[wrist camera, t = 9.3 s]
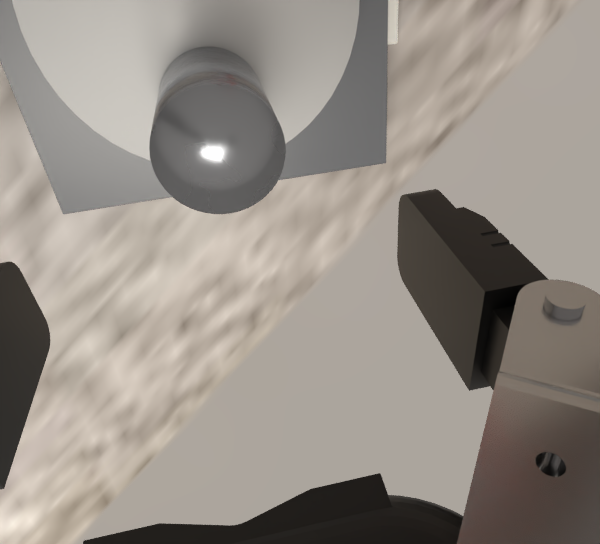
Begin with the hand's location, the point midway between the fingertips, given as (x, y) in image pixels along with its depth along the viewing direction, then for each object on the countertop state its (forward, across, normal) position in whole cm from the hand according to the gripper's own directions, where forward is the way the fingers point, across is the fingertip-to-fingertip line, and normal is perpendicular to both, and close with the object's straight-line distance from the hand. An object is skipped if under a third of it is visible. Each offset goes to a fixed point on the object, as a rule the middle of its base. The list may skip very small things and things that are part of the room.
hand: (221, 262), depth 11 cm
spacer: (+13, 0, 0) cm, 13 cm away
